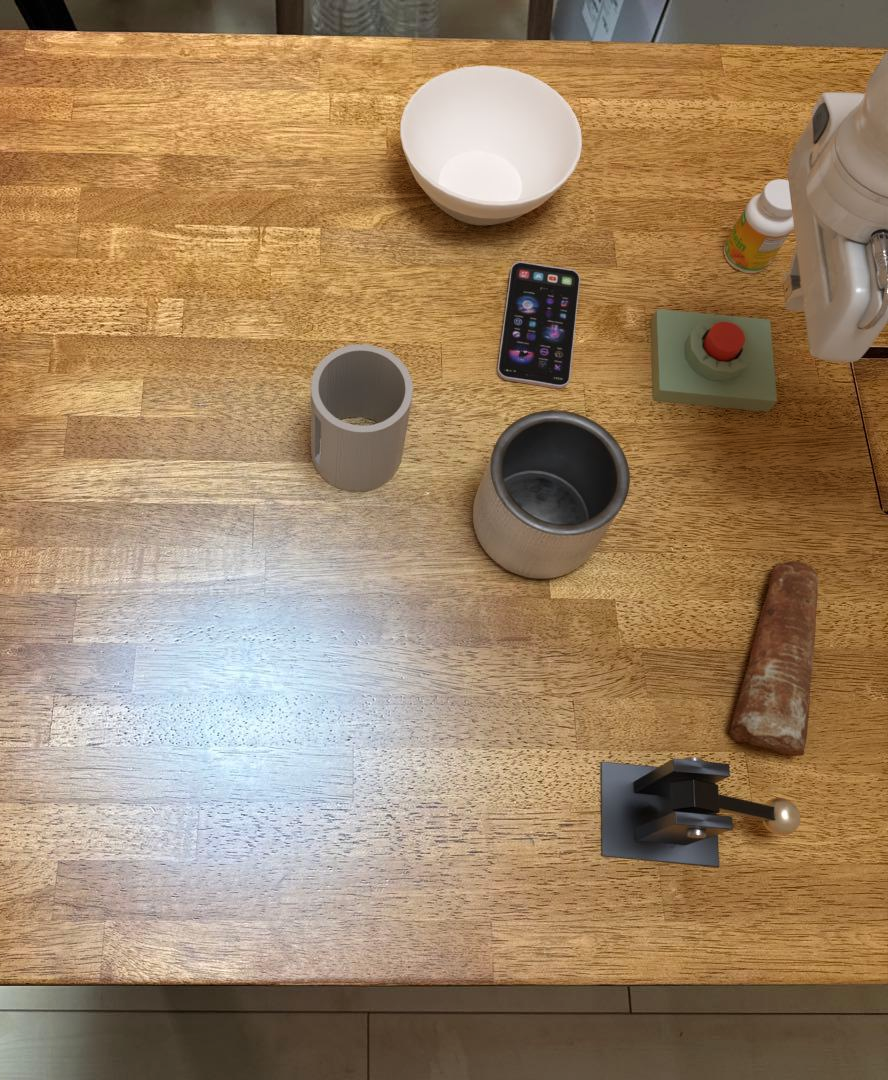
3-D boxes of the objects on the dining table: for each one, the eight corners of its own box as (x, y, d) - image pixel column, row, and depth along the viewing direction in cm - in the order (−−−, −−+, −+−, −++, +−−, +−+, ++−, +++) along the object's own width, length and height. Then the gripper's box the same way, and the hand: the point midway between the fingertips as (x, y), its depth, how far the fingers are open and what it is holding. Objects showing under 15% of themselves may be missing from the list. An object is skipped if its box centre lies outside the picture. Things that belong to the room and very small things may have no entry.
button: (737, 333, 105) (744, 323, 103) (739, 362, 103) (746, 353, 102) (702, 329, 105) (708, 319, 103) (704, 359, 103) (710, 349, 102)
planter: (504, 600, 96) (527, 556, 86) (450, 489, 101) (465, 434, 90) (621, 556, 98) (657, 507, 88) (563, 448, 103) (591, 390, 93)
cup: (419, 440, 103) (431, 376, 92) (370, 508, 100) (377, 450, 88) (344, 396, 104) (347, 328, 93) (293, 461, 101) (291, 398, 90)
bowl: (518, 284, 110) (533, 234, 103) (362, 210, 114) (366, 155, 106) (592, 166, 117) (612, 110, 110) (444, 99, 121) (452, 40, 113)
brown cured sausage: (717, 744, 91) (741, 730, 86) (763, 562, 99) (787, 539, 94) (786, 770, 91) (814, 758, 86) (827, 585, 98) (855, 563, 93)
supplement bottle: (715, 238, 114) (750, 176, 105) (761, 232, 114) (799, 170, 105) (731, 278, 112) (767, 217, 103) (777, 271, 112) (817, 211, 103)
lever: (776, 802, 87) (806, 799, 84) (778, 838, 85) (810, 836, 83) (666, 777, 81) (696, 772, 78) (667, 815, 80) (697, 812, 77)
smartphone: (581, 270, 111) (569, 387, 105) (579, 274, 111) (567, 390, 105) (512, 260, 111) (496, 376, 105) (511, 263, 111) (495, 379, 106)
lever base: (709, 774, 90) (764, 747, 80) (714, 868, 87) (771, 853, 76) (597, 763, 90) (636, 735, 80) (598, 857, 87) (639, 841, 76)
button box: (761, 331, 109) (777, 308, 105) (768, 412, 105) (785, 391, 102) (650, 320, 109) (662, 298, 106) (652, 401, 105) (665, 380, 102)
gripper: (940, 303, 70) (842, 405, 83) (899, 83, 78) (816, 207, 91) (849, 295, 70) (766, 398, 83) (818, 76, 78) (746, 201, 91)
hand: (792, 297), depth 87 cm, fingers closed
